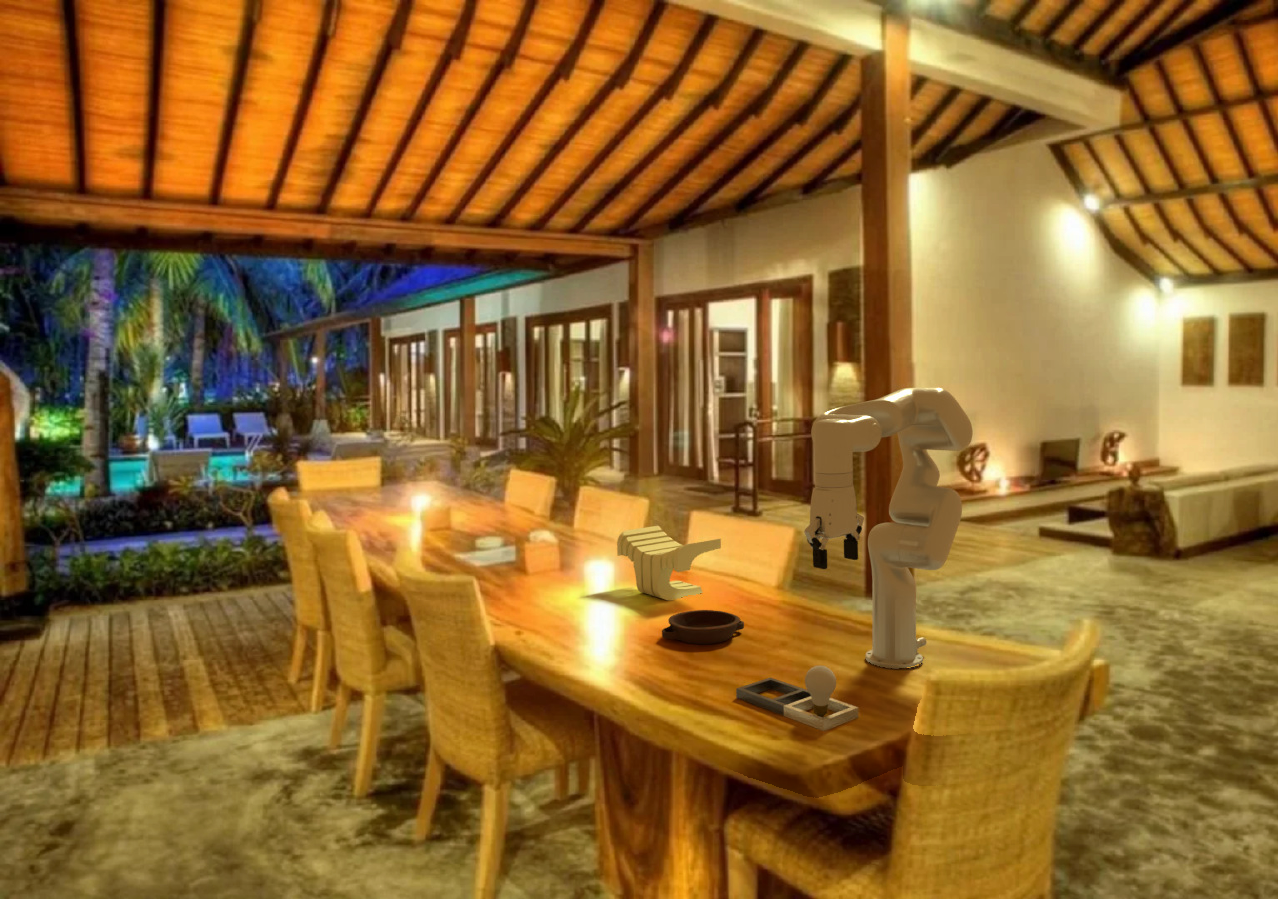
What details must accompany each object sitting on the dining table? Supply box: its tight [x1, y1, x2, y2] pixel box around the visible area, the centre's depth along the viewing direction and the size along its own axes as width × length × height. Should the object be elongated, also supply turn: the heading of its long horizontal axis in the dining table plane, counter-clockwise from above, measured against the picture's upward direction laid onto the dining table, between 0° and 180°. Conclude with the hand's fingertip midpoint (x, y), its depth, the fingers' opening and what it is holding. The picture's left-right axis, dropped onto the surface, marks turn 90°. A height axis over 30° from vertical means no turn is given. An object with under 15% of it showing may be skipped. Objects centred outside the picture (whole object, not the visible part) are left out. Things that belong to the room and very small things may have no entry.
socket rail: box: [735, 677, 859, 732], centre depth 182 cm, size 10×23×2 cm, turn 38°
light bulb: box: [804, 665, 837, 718], centre depth 177 cm, size 6×6×10 cm
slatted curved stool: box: [616, 525, 722, 601], centre depth 275 cm, size 30×16×18 cm, turn 36°
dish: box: [661, 609, 745, 645], centre depth 231 cm, size 18×22×5 cm
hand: (835, 563), depth 188 cm, fingers open, 9 cm apart
